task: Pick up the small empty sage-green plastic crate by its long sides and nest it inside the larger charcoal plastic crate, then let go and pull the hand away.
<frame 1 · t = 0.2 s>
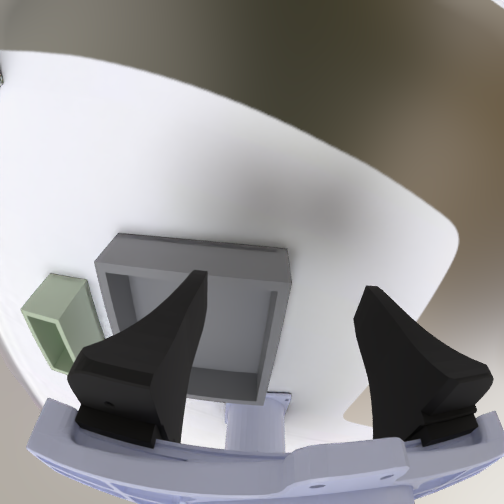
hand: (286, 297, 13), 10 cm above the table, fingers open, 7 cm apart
sage crate: (78, 309, 28), on the table
charcoal crate: (199, 315, 27), on the table
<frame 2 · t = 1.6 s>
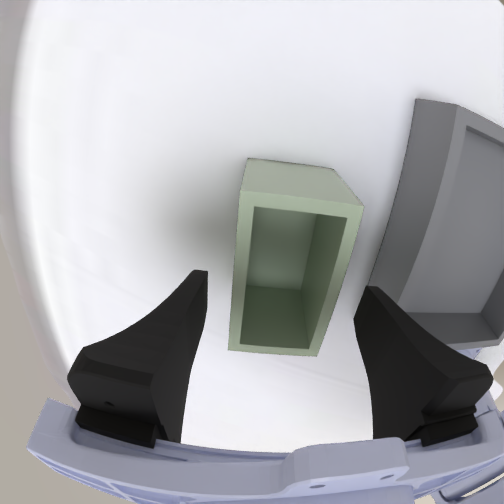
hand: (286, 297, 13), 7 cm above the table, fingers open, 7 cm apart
sage crate: (280, 232, 19), on the table
charcoal crate: (464, 231, 18), on the table
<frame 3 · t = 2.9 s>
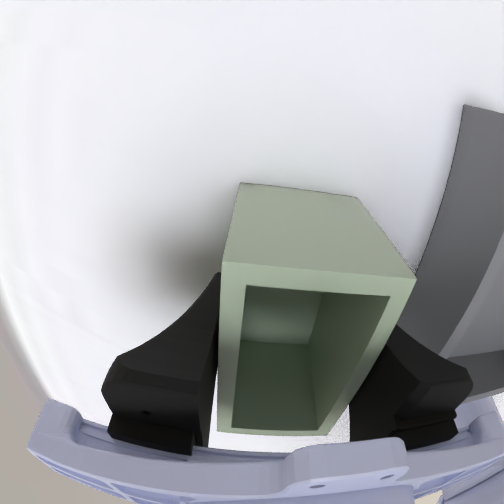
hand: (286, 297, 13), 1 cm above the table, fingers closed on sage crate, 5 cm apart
sage crate: (284, 278, 14), on the table, touching gripper
charcoal crate: (501, 267, 13), on the table
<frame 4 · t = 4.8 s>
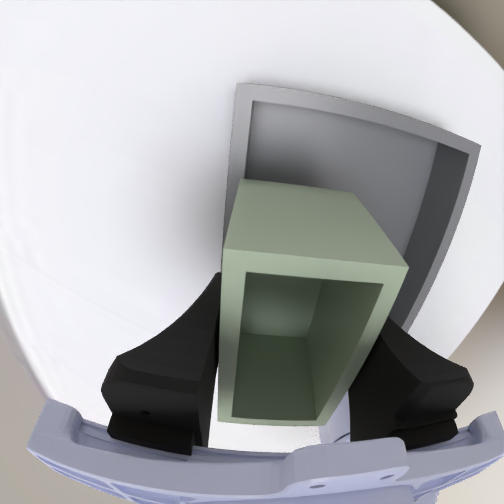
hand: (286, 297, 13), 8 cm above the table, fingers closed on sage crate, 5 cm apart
sage crate: (283, 272, 15), point 6 cm above the table, touching gripper
charcoal crate: (332, 217, 20), on the table
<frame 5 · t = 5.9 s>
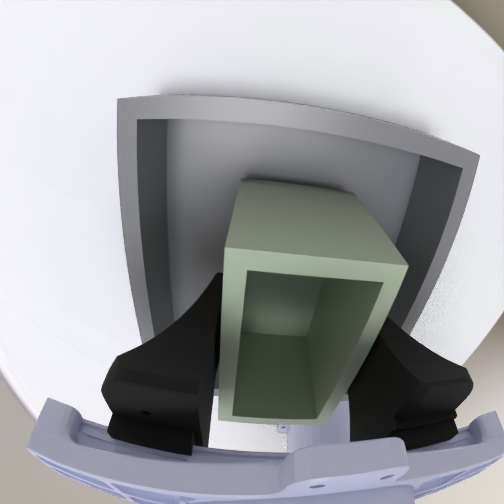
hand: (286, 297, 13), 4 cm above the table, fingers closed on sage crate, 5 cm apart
sage crate: (284, 271, 15), point 2 cm above the table, touching gripper
charcoal crate: (282, 251, 17), on the table
when the fingers open (4 cm above the table, at t = 6.9 s): sage crate stays where it is, resting on charcoal crate.
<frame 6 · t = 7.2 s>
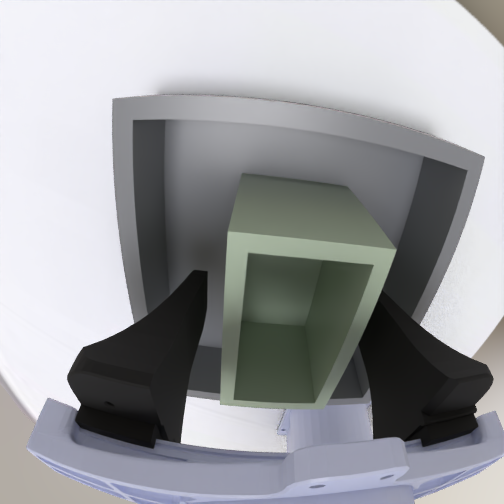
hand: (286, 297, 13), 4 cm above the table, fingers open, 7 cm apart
sage crate: (282, 262, 16), point 1 cm above the table, touching charcoal crate
charcoal crate: (282, 254, 16), on the table
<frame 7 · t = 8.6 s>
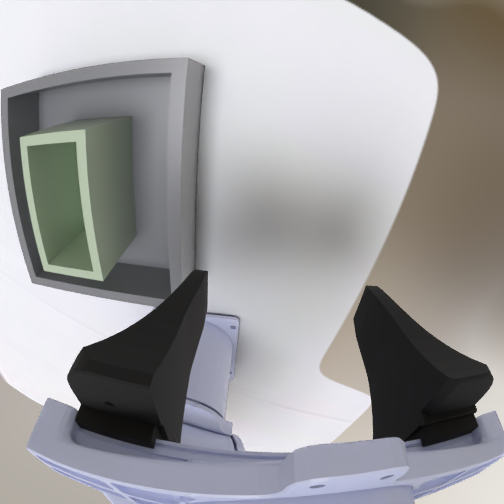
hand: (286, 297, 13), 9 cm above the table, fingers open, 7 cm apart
sage crate: (103, 178, 19), point 1 cm above the table, touching charcoal crate
charcoal crate: (108, 175, 20), on the table
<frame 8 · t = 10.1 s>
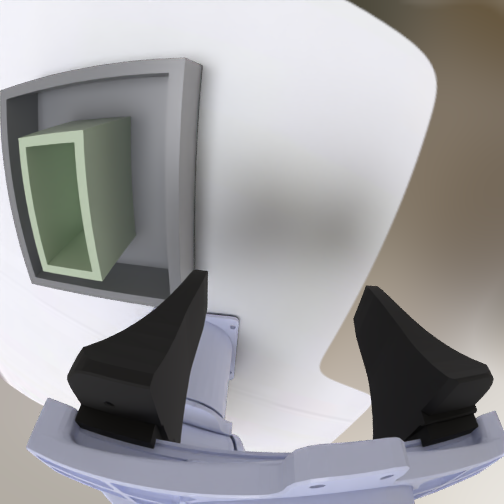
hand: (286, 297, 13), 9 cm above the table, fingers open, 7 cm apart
sage crate: (102, 178, 19), point 1 cm above the table, touching charcoal crate
charcoal crate: (107, 175, 20), on the table
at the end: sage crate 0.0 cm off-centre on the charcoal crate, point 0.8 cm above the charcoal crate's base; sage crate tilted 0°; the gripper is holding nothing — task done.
